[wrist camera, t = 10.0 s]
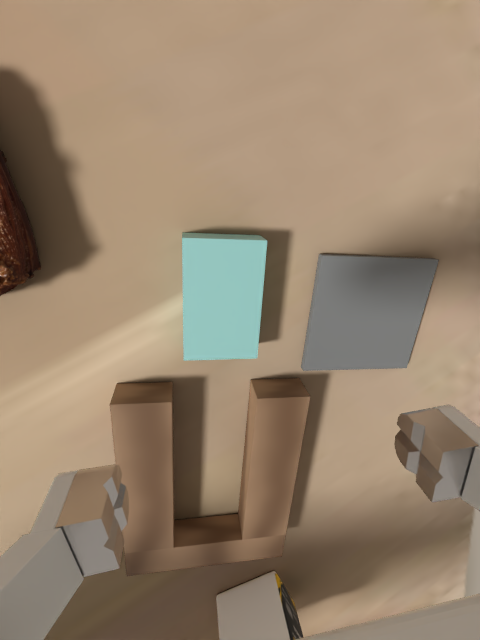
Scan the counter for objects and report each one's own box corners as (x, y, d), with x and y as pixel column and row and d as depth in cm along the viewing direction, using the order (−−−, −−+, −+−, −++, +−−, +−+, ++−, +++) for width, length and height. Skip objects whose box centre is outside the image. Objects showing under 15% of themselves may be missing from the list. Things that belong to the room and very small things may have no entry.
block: (183, 343, 24) (183, 360, 22) (182, 231, 21) (182, 237, 19) (250, 342, 25) (257, 358, 22) (258, 234, 22) (267, 240, 19)
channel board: (130, 546, 31) (126, 576, 28) (116, 383, 24) (109, 404, 22) (275, 530, 33) (281, 556, 31) (299, 378, 26) (310, 396, 24)
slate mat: (301, 367, 26) (303, 370, 25) (319, 253, 22) (321, 255, 22) (402, 365, 27) (406, 368, 27) (434, 258, 24) (438, 259, 24)
